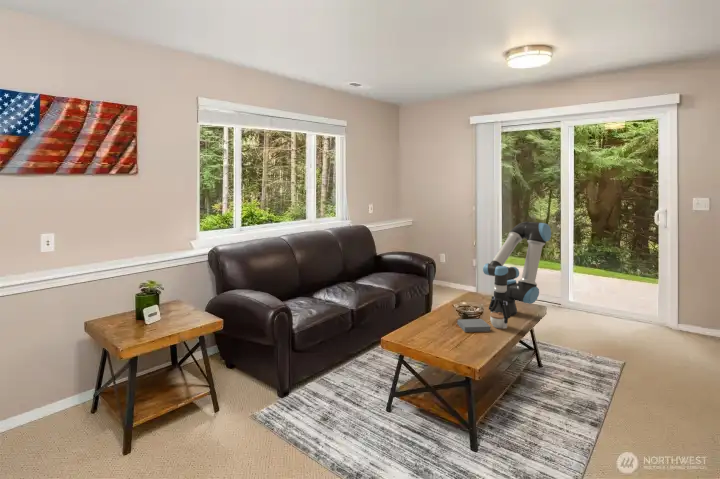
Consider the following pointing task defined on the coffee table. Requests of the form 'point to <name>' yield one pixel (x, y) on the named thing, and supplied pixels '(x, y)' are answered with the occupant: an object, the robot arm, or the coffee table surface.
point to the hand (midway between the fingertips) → (498, 324)
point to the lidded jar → (497, 319)
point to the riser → (473, 325)
